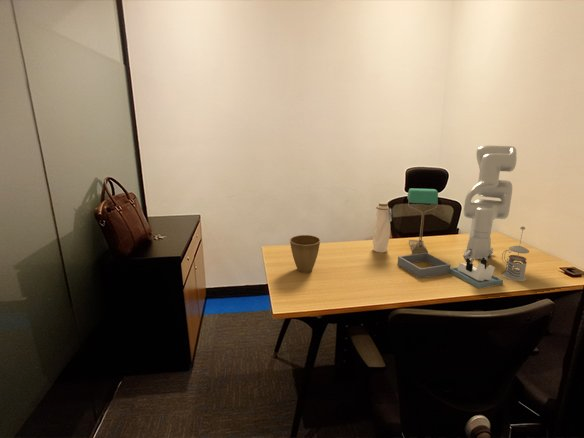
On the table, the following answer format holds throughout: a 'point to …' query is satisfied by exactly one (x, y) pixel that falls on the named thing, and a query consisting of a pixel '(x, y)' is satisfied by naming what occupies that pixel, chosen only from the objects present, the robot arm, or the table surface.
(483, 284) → the tray
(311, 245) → the plant pot
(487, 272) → the bracket
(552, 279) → the table surface
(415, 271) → the bin
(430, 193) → the banker's lamp
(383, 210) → the water bottle
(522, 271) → the french press
